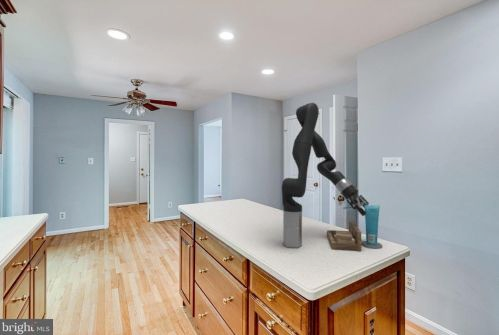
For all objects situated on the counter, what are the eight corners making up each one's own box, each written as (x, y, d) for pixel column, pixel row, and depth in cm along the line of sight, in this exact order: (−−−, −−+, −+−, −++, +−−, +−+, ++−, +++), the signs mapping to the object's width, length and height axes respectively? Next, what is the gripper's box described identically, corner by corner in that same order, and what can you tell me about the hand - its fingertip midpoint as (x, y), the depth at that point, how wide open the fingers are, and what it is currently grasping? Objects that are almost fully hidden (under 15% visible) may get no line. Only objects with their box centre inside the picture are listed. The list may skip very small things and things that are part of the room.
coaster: (384, 249, 118) (384, 247, 118) (364, 248, 120) (364, 246, 120) (378, 243, 127) (378, 241, 127) (359, 241, 129) (359, 240, 129)
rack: (361, 251, 116) (361, 232, 116) (331, 249, 119) (332, 230, 118) (351, 236, 137) (351, 220, 137) (326, 235, 140) (327, 219, 139)
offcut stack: (355, 249, 119) (355, 236, 118) (336, 248, 120) (336, 235, 120) (351, 243, 127) (351, 231, 127) (333, 242, 129) (333, 230, 129)
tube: (375, 242, 126) (376, 204, 126) (381, 245, 122) (382, 206, 121) (361, 242, 126) (362, 204, 125) (366, 245, 121) (367, 206, 120)
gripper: (345, 184, 125) (368, 211, 117) (357, 183, 135) (379, 207, 127) (334, 194, 129) (356, 220, 121) (347, 192, 139) (368, 216, 131)
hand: (368, 213), depth 124 cm, fingers open, 8 cm apart
